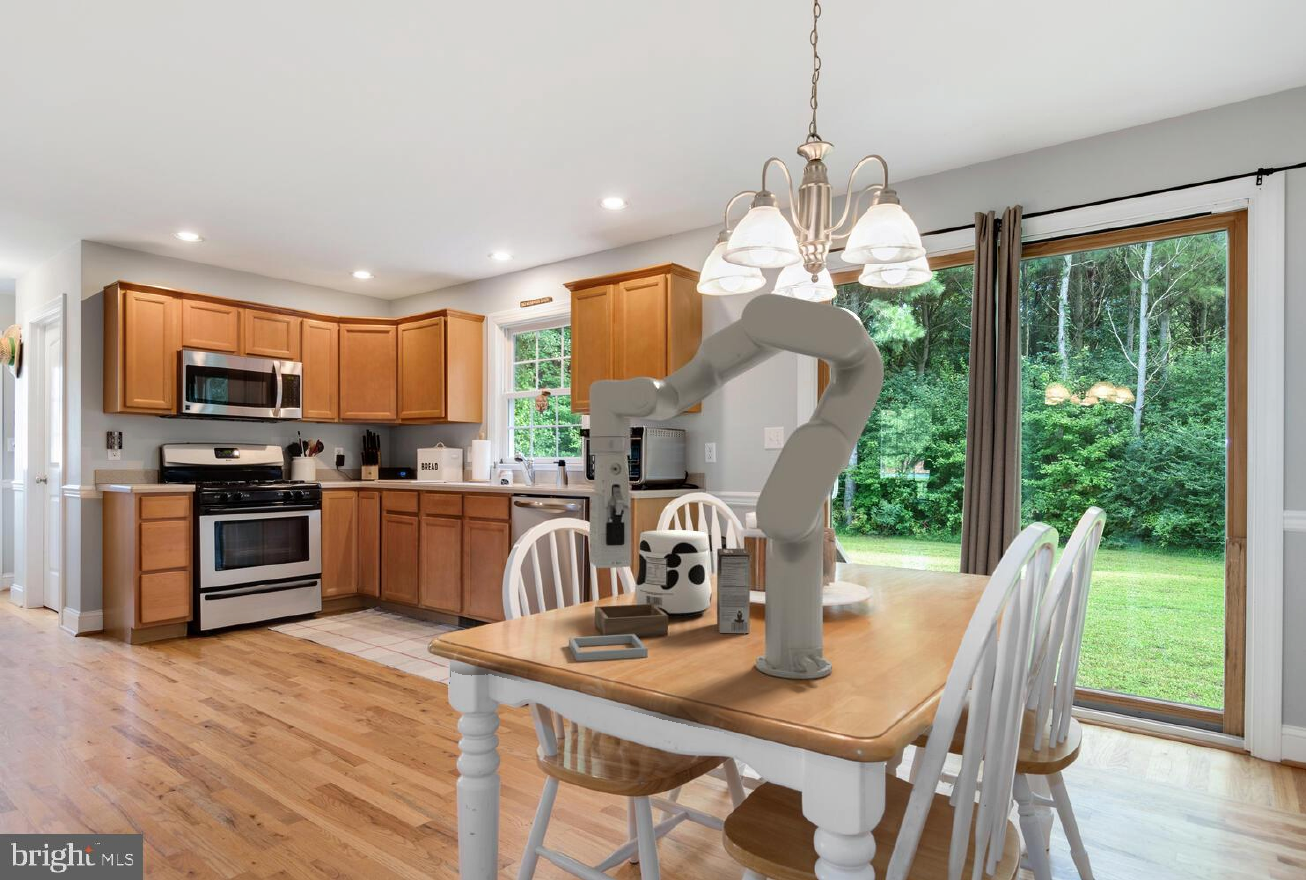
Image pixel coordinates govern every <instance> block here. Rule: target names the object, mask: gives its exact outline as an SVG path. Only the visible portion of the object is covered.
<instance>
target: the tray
mask: <svg viewBox="0 0 1306 880" xmlns="http://www.w3.org/2000/svg"><path fill="white" fill-rule="evenodd" d="M623 644H631V645H632V646H633V647H629V648H628V647H627V648H611V649H597V650H594V649H593V650H582V651H581V649H580V647H591V646H592V647H593V646H604V645H605V646H607V645H608V646H609V645H623ZM568 648H569V649H570V651H571V653H572V654H573V657H574V658H575V660H576V662H588V661H589V662H590V661H592V662H593V661H602V660H603V661H605V660H606V661H607V660H619V659H620V660H621V659H634V658H636V659H637V658H648V656H649V655H648V653H649V650H648V647H647V646H646V645H645V644H644V643H643V642H642V641H641V640H640V639H639V638H638V637H637V636H636V635H635V634H627V635H609V636H602V635H596V636H595V635H593V636H577V637H568Z"/></svg>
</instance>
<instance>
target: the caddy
mask: <svg viewBox="0 0 1306 880" xmlns="http://www.w3.org/2000/svg"><path fill="white" fill-rule="evenodd" d="M594 627H595V628H596V629H597V631H598V632H599V633H600V636H609V635H627V634H635V635H636V636H637V637H638V639H639V638H640V639H641V638H657V637H668V636H669V617H668V615H667V614H665V613H664V612H663V611H662V610H660V609H659V608H658V607H657V606H655V605H654V604H642V605H637V604H627V605H626V604H622V605H607V606H606V605H603V606H595V607H594Z"/></svg>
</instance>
